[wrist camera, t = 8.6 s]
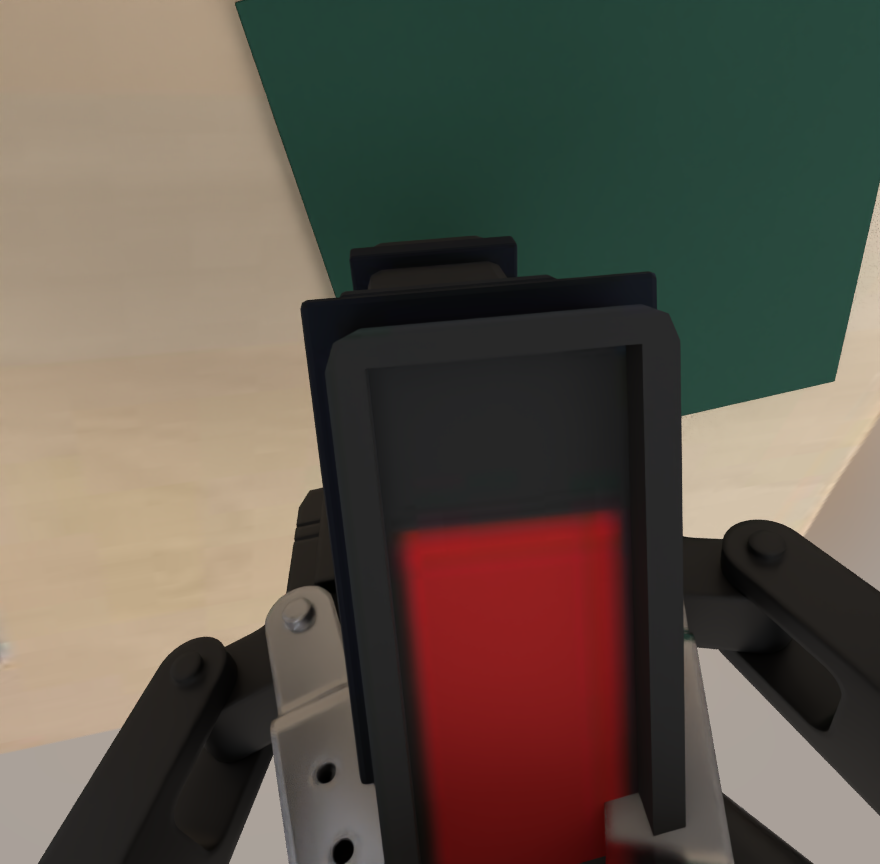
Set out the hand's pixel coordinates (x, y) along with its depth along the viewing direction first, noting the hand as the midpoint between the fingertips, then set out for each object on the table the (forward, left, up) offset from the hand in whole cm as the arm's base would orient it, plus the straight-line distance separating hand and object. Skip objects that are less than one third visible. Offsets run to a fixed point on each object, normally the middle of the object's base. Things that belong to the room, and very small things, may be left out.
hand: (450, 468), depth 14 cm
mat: (0, +8, -12) cm, 15 cm away
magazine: (0, 0, -4) cm, 4 cm away
